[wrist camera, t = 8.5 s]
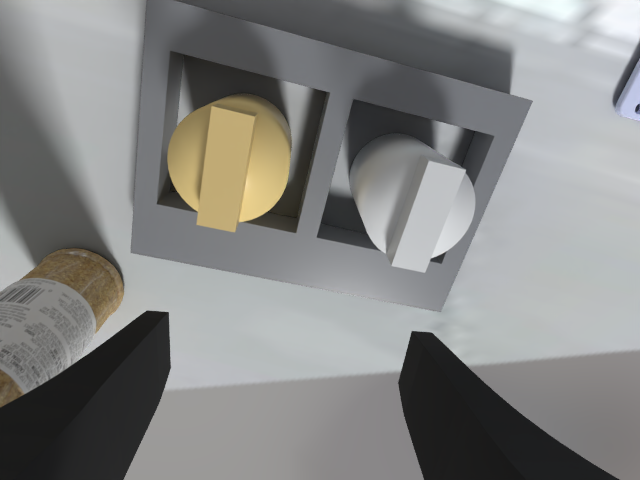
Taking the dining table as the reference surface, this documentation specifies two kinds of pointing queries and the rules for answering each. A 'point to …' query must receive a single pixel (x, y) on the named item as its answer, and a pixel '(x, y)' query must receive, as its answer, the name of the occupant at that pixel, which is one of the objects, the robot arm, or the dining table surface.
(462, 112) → the housing
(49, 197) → the dining table surface
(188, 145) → the beige cylinder with tab
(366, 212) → the grey knob with ridge
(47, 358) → the spice jar
